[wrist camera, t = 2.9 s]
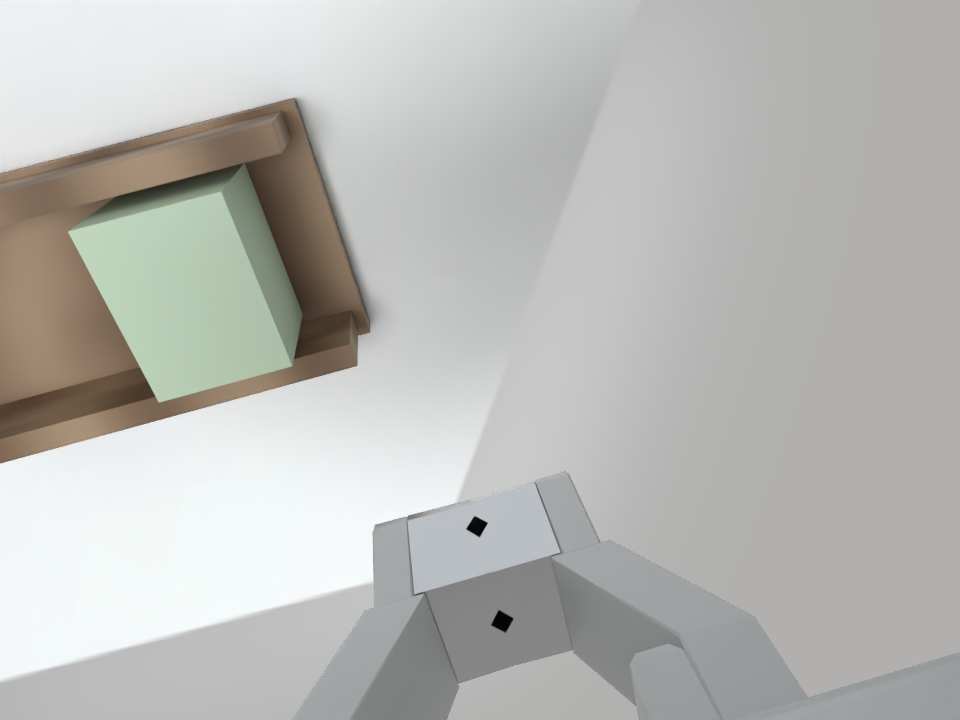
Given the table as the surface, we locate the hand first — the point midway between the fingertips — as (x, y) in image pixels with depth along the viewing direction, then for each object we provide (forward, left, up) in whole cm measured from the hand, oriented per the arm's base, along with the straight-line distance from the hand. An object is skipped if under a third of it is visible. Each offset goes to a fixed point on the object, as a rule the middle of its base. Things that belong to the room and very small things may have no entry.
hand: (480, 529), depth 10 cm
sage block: (+8, 0, -20) cm, 22 cm away
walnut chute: (+15, 0, -21) cm, 26 cm away
